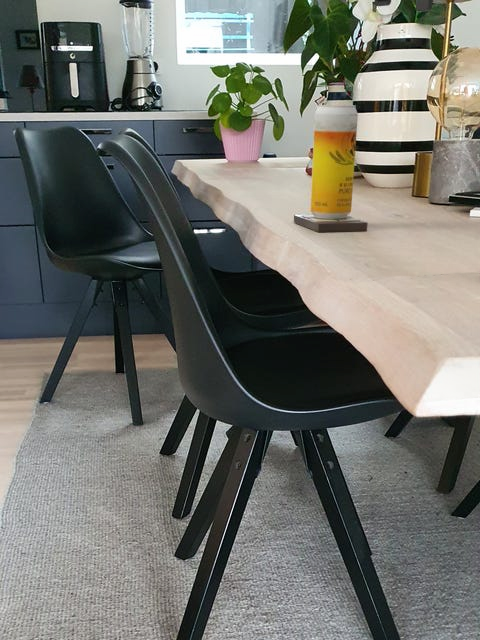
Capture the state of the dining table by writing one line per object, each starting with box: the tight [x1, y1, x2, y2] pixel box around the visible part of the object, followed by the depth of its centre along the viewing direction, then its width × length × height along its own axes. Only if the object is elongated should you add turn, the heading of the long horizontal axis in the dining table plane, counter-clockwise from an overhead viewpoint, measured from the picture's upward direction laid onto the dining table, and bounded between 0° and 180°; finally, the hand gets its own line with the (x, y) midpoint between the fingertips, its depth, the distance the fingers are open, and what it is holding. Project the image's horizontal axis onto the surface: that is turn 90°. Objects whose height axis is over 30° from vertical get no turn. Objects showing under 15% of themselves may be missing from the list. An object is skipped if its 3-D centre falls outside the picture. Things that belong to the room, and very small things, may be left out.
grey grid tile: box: [293, 213, 368, 233], centre depth 120 cm, size 11×8×1 cm
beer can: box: [309, 104, 359, 219], centre depth 116 cm, size 6×6×15 cm
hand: (403, 8), depth 105 cm, fingers open, 8 cm apart
